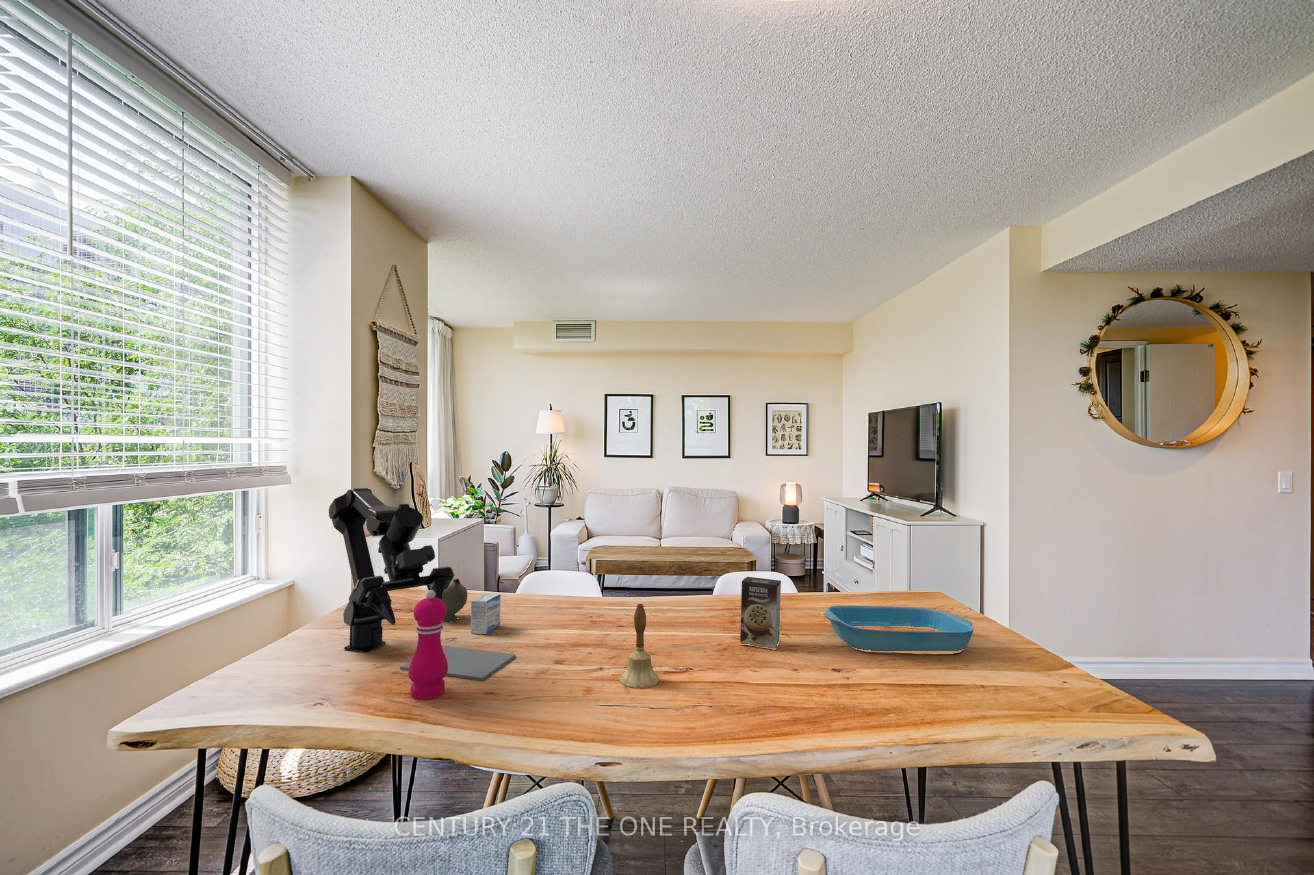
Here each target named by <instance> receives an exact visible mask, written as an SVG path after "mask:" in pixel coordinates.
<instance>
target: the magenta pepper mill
mask: <svg viewBox="0 0 1314 875" xmlns="http://www.w3.org/2000/svg"><path fill="white" fill-rule="evenodd" d="M445 615H446V605H445V603H444V601H442V600H441V599H439V598H435V592H434V591H433V590H427V591H426V593H425V598H422V599H421V600H419V601H418V602H417V603H416V604H415V605H414V608H413V618H414V620H415V621H416V622H417V623H416V625H415V628H416V629H415V633H417V643H416V644H417V646H416V647H415V648H416V649H415V652H414V654H413V656H412V658H411V660H410V661H411V662H410V661H409V662H410V666H409V671H408V672H407V674H408V679H410V681H411V682H412V684H411V685H410V693H409V694H410V697H411V698H413V699H415V700H421V699H422V700H430V699H434V698H437V697H439V696H441V695H443V694H444V693H445V691H446V681H445V680H444V678H445V677H446V676H445V675H446V674H447V672H448V662H447V658H446V656H445V654H444V652H443V649H442V646H441V645H442V641H441V636H442V635H441V633H442V631H443V630H444V621H442V619H443V618H444V617H445Z"/></svg>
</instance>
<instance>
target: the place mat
mask: <svg viewBox="0 0 1314 875" xmlns="http://www.w3.org/2000/svg"><path fill="white" fill-rule="evenodd" d="M441 646H442V649H443V652H444V654H445V656H446V658H447V662H448V672H447V674H446V675H445V677H451V678H458V679H459V678H460V679H464V680H465V679H466V680H473V681H481V682H482V681H484V680H485V679H487V678H488V677H490V676H491V675H493V674H494V673H495V672H496V671H498V670H499V669H501V668H502V667H504V666H505V665H506V664H508V663H509V662H511V661H512V660H513V659H515V658H516V655H517V654H516V653H508V652H500V651H493V650H492V651H491V650H484V649H474V648H469V647H468V648H467V647H461V646H460V647H459V646H451V645H444V644H441ZM410 662H411V660H410V661H408V662H405V663H404V664H402V665H400V666H399V671H400V670H401V671H406V672H407V671H409V666H410Z"/></svg>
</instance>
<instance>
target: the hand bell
mask: <svg viewBox="0 0 1314 875" xmlns="http://www.w3.org/2000/svg"><path fill="white" fill-rule="evenodd" d="M633 625H634V630H635V634H636V635H635V636H636V640H635V641H636V642H635V646H636V647H635V650H634V651H632V652H630V654H629V657H628V663H627V667H626V669H625V670H624V672H623V673H622V674H621V675H620V677H619V682H620V684H621V685H622V686H625V687H628V688H631V689H637V688H643V689H648V688H652V687H654V686H656V685H658V684H659V683H660V678H659V675H658V674H657V673H656V672H655V670H654V669H653V664H652V657H651V654H650V653H649V652H647V651H646V650H645V644H644V643H645V638H644V637H645V636H644V635H645V634H644V633H645V630H646V625H647V614H646V610H645V606H644V604H643V603H637V604H636V608H635V611H634V616H633Z"/></svg>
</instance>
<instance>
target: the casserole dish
mask: <svg viewBox="0 0 1314 875" xmlns="http://www.w3.org/2000/svg"><path fill="white" fill-rule="evenodd" d="M823 614H824V617H825V618H826V619H827V620H829V621H830V622H829V623H830V625H831V627H832V629H833V631H834V633H836V635H837V636H838V637H840V639H841V640H842V642H844V643H845V642H846V643H845V644H846V645H848V646H849V645H850V646H851V647H850V646H849V647H850V648H852V647H854V648H857V649H863V650H871V651H959V650H962V649H965V650H966V649H967V647H968V646H969V643H970V641H971V638H972V636H973V633H974V631H975V630H974V627H973V623H972V621H970V620H969V619H966V618H964V617H961V616H959V615H956V614H953V613H952V614H951V613H948V612H946V611H943V610H939V609H933V608H929V607H919V606H918V607H916V606H915V607H914V606H894V605H893V606H890V605H887V606H886V605H860V604H858V605H852V604H850V605H848V604H843V605H842V604H841V605H840V604H835V605H831V606H828V607H827V610H826V611H825V612H824V613H823ZM854 626H911V627H912V626H913V627H930V628H933V629H938V630H940V631H943V632H935V631H892V630H874V629H864V628H858V627H854Z"/></svg>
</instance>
